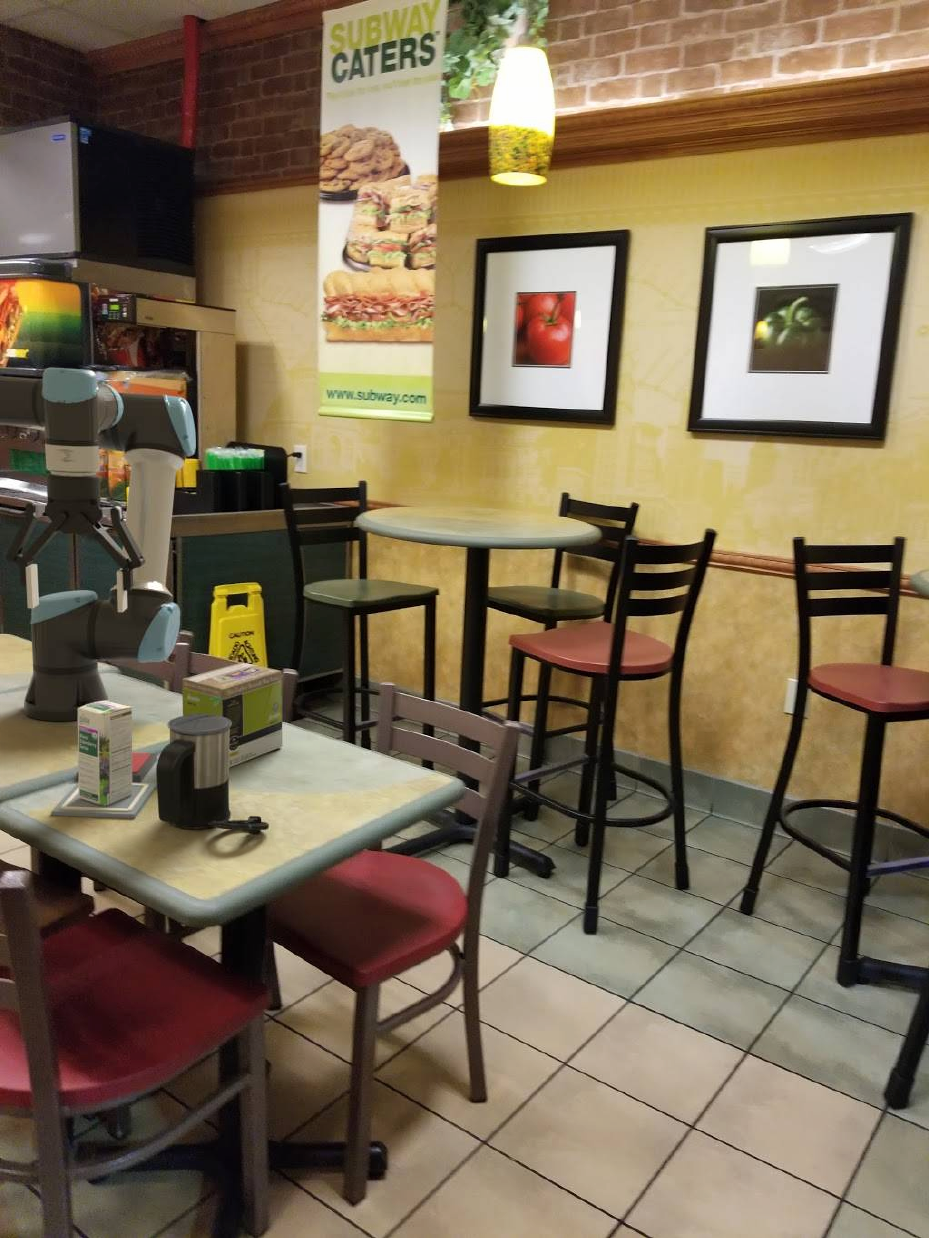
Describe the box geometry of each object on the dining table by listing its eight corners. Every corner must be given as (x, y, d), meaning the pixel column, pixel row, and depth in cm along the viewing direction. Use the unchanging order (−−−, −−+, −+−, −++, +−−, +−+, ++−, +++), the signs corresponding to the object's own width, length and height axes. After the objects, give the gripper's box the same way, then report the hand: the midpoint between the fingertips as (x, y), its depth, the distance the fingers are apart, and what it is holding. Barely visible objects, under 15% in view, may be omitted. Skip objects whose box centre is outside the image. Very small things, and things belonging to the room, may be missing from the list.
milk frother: (176, 803, 143) (176, 711, 139) (279, 807, 143) (281, 716, 140) (149, 844, 129) (148, 743, 126) (263, 849, 129) (265, 748, 126)
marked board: (80, 783, 147) (79, 779, 147) (156, 786, 148) (156, 782, 148) (51, 815, 135) (51, 810, 135) (134, 818, 136) (134, 813, 136)
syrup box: (77, 799, 140) (74, 707, 137) (107, 786, 145) (105, 698, 142) (104, 807, 138) (102, 714, 135) (134, 794, 143) (133, 705, 140)
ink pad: (97, 757, 158) (97, 749, 158) (157, 760, 159) (157, 751, 159) (76, 779, 149) (76, 771, 148) (140, 782, 149) (140, 773, 149)
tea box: (242, 736, 174) (243, 660, 170) (283, 748, 169) (285, 670, 166) (180, 758, 161) (180, 676, 158) (222, 772, 156) (223, 687, 153)
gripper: (-23, 470, 136) (-15, 610, 141) (151, 480, 139) (153, 617, 144) (-3, 466, 143) (5, 599, 149) (163, 475, 146) (164, 606, 151)
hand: (78, 608), depth 146 cm, fingers open, 13 cm apart
